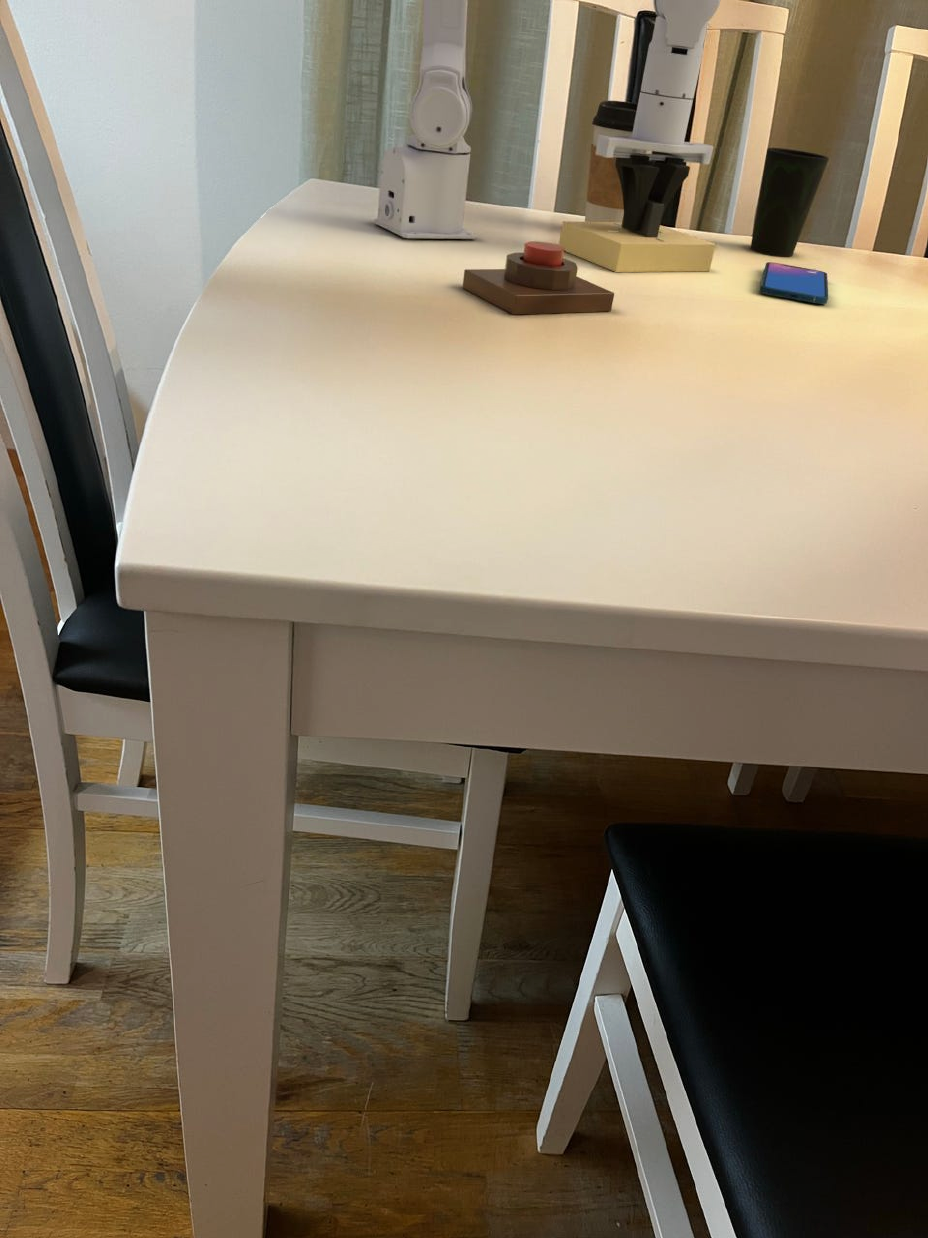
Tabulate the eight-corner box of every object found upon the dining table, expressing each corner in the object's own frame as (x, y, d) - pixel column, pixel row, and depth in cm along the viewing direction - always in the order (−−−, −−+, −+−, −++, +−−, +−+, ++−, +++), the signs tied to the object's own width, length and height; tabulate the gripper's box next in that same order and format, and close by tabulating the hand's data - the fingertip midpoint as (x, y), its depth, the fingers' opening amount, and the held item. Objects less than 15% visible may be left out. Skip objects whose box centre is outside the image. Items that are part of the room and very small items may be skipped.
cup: (804, 253, 131) (832, 156, 125) (796, 261, 125) (825, 159, 118) (747, 242, 133) (772, 146, 127) (737, 249, 127) (762, 149, 121)
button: (536, 270, 87) (539, 250, 86) (514, 260, 90) (517, 240, 89) (568, 270, 89) (571, 250, 88) (546, 260, 92) (549, 241, 91)
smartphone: (760, 286, 104) (765, 260, 117) (757, 294, 105) (763, 268, 117) (829, 299, 103) (827, 271, 115) (826, 307, 103) (825, 279, 116)
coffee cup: (636, 233, 129) (662, 106, 121) (640, 245, 121) (667, 111, 114) (574, 224, 129) (595, 97, 121) (574, 235, 122) (596, 101, 114)
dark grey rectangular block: (657, 237, 110) (665, 201, 108) (646, 236, 109) (653, 201, 107) (632, 227, 114) (638, 193, 112) (621, 226, 113) (627, 192, 111)
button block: (513, 314, 85) (519, 273, 83) (461, 287, 91) (466, 248, 90) (611, 311, 90) (618, 272, 89) (556, 285, 97) (562, 249, 95)
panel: (615, 271, 106) (621, 241, 104) (558, 248, 114) (562, 219, 112) (709, 270, 113) (716, 242, 111) (649, 248, 120) (654, 221, 119)
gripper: (695, 96, 110) (668, 222, 117) (590, 84, 104) (568, 219, 111) (736, 104, 105) (705, 236, 112) (628, 92, 99) (603, 233, 106)
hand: (639, 228), depth 111 cm, fingers closed
